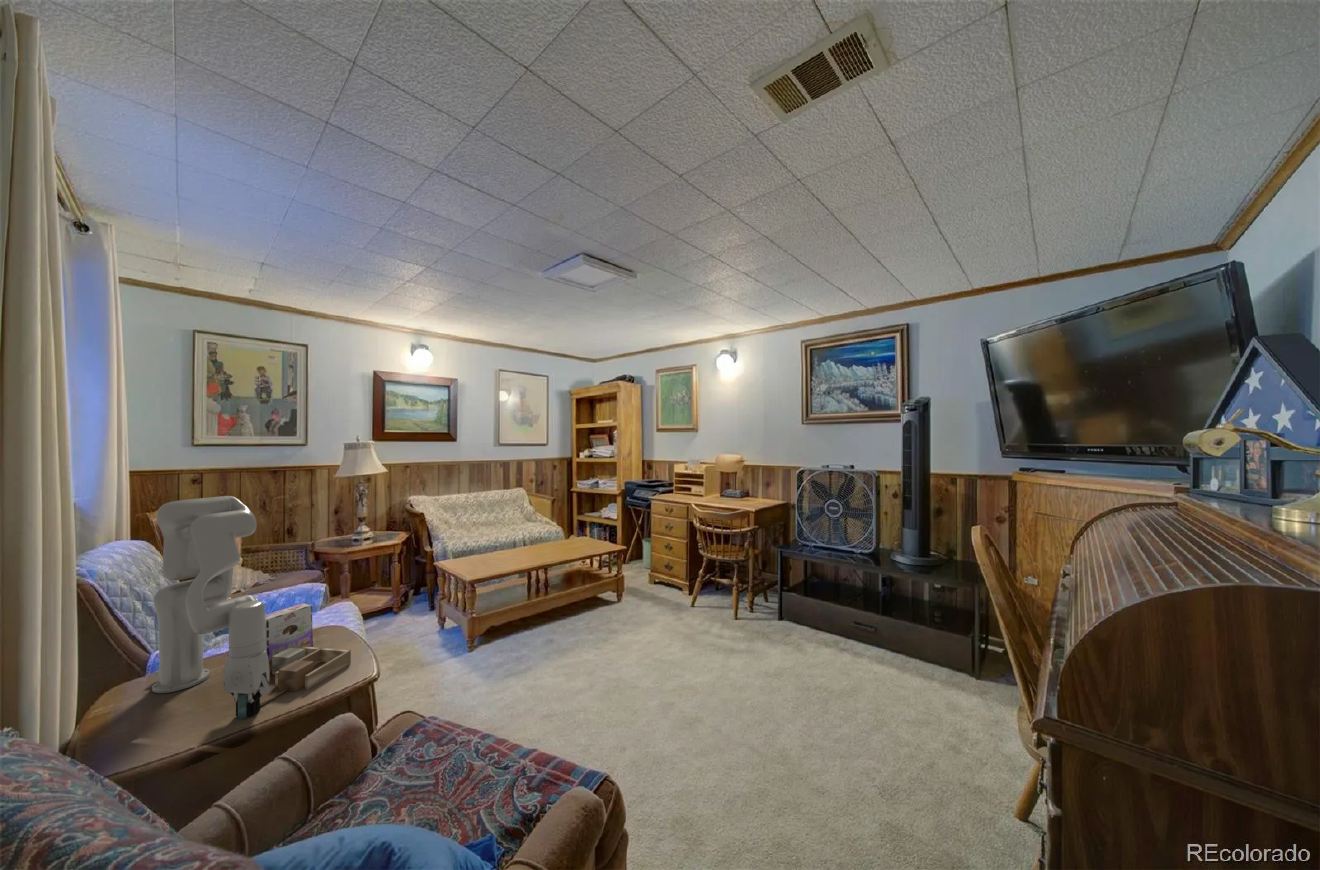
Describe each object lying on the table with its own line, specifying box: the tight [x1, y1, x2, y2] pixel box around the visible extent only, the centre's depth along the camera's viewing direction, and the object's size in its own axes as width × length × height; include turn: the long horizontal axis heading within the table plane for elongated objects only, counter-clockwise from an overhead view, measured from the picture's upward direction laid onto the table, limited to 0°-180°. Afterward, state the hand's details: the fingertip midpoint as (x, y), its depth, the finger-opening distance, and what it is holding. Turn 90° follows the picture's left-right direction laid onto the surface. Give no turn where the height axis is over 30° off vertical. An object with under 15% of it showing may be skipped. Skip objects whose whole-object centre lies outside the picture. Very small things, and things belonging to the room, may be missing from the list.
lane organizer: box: [268, 646, 352, 690], centre depth 148 cm, size 22×16×5 cm
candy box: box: [265, 602, 314, 658], centre depth 159 cm, size 14×6×16 cm, turn 154°
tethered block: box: [237, 660, 315, 720], centre depth 134 cm, size 6×20×7 cm, turn 172°
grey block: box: [271, 648, 305, 675], centre depth 149 cm, size 6×6×6 cm
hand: (248, 712), depth 126 cm, fingers closed on tethered block, 2 cm apart
